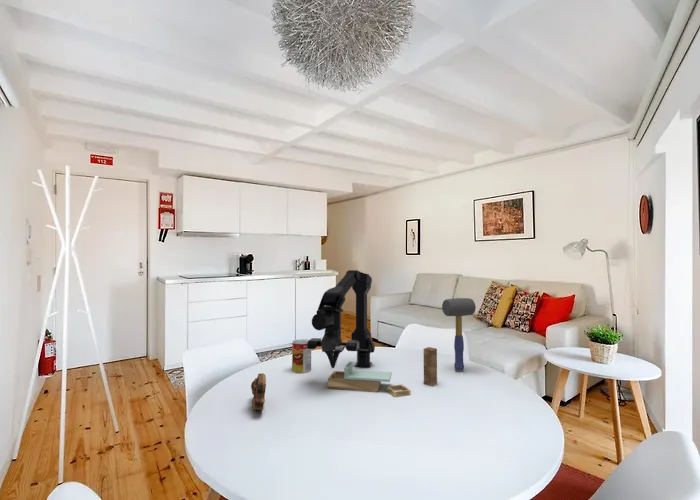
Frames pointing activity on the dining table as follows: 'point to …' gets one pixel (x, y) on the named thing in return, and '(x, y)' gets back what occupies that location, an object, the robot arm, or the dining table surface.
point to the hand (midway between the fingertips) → (333, 367)
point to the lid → (366, 374)
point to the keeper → (398, 393)
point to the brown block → (430, 366)
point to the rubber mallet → (458, 324)
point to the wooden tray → (351, 383)
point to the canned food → (301, 356)
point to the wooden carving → (259, 391)
